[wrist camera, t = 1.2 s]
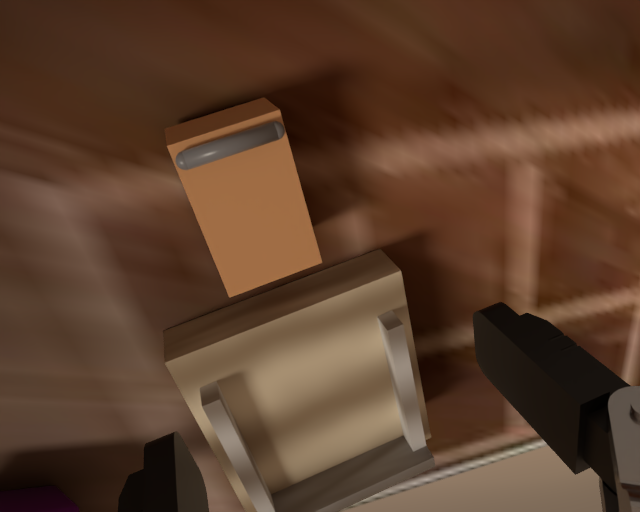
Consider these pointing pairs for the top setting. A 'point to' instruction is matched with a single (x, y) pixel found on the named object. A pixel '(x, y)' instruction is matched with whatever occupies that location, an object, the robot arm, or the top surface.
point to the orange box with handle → (245, 193)
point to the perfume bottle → (36, 500)
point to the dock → (309, 388)
